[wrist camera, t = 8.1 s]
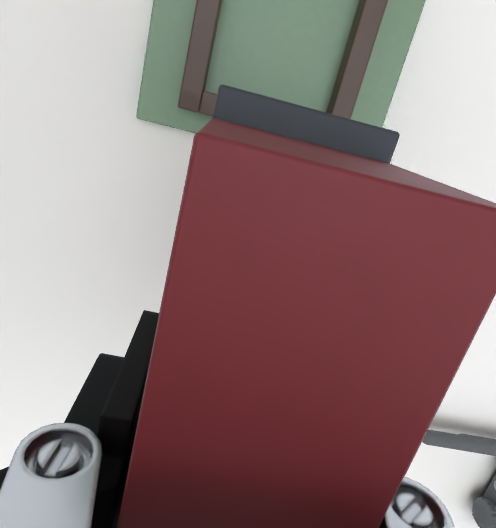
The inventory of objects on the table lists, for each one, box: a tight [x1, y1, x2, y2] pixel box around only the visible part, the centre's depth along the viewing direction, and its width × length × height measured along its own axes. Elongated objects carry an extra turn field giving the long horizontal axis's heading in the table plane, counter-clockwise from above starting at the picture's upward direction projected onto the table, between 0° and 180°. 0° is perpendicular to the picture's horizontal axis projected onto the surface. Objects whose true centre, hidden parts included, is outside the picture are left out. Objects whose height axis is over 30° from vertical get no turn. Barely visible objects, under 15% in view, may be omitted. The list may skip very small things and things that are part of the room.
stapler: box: [117, 84, 496, 528], centre depth 9 cm, size 14×4×6 cm, turn 166°
